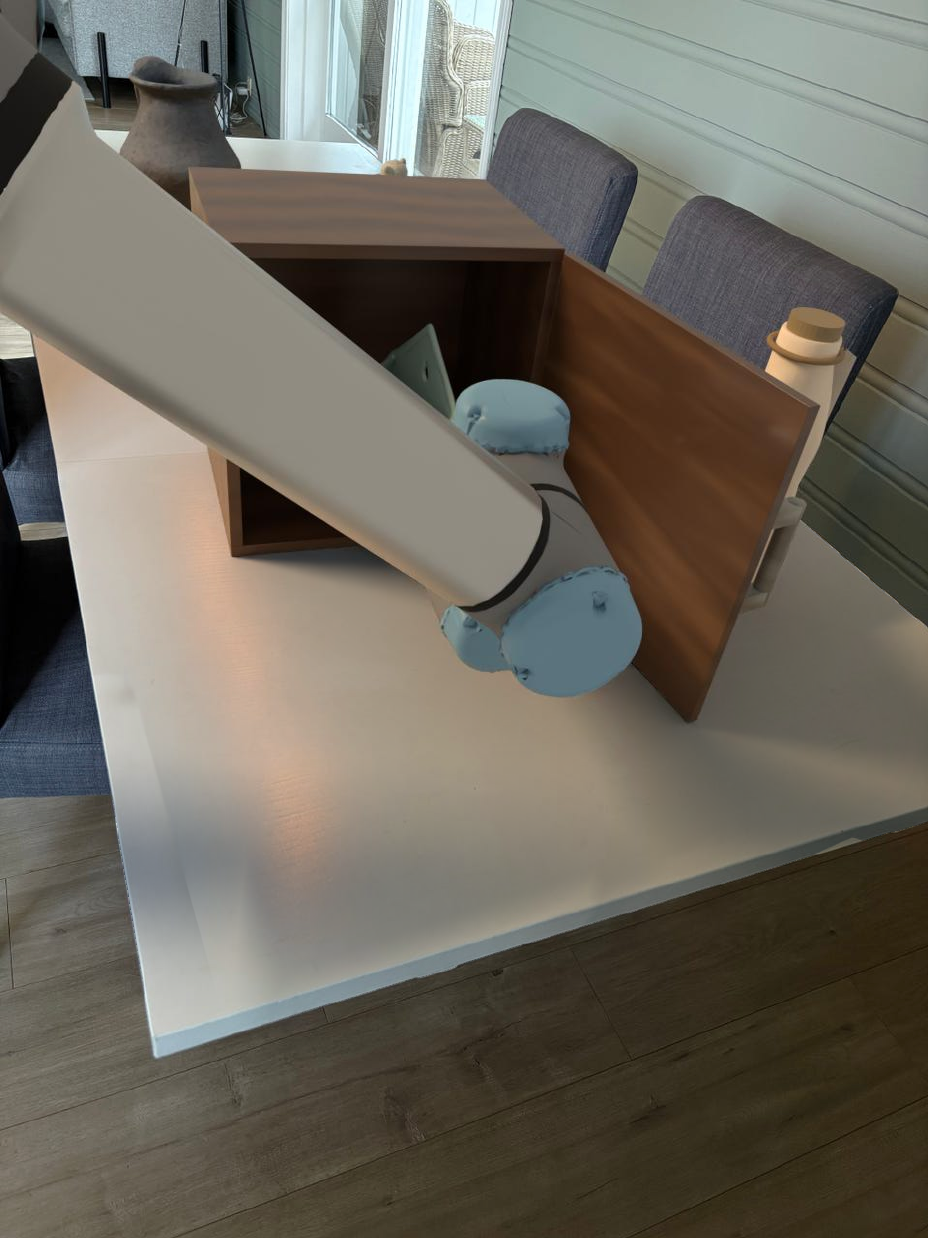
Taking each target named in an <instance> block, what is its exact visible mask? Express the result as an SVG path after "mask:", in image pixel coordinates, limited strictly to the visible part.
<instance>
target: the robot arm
mask: <svg viewBox="0 0 928 1238" xmlns="http://www.w3.org/2000/svg"><path fill="white" fill-rule="evenodd" d="M45 5H46V4H45V0H0V314H1V315H3V316H5V317H6V318H7V319H8V320H11V321H12V322H13V323H15V324H17V325H18V326H20V327H21V328H23V329H25V331H28V333H31V334H33V335H34V336H36V337H37V338H39V339H40V340H41V341H43V342H45V343H46V344H48V345H49V346H51V347H52V348H54V349H56V350H57V351H58V352H60V353H62V354H64V355H65V356H66V357H68V358H70V359H71V360H73V361H74V362H76V363H77V364H79V365H81V366H82V367H84V368H85V369H87V370H88V371H90V372H92V373H93V374H95V375H96V376H97V377H99V378H100V379H102V380H103V381H105V382H107V383H109V384H110V385H111V386H113V387H115V388H117V389H118V390H119V391H121V392H123V393H124V394H125V395H127V396H128V397H130V398H132V399H133V400H135V401H137V402H138V403H140V404H141V405H142V406H144V407H146V408H147V409H149V410H151V411H152V412H154V413H155V414H157V415H158V416H160V417H161V418H163V419H165V420H166V421H168V422H169V423H171V424H172V425H174V426H175V427H177V428H178V429H180V430H181V431H182V432H185V433H186V434H188V435H189V436H191V437H193V438H194V439H195V440H197V441H199V442H200V443H202V444H203V445H204V446H206V447H207V446H208V447H210V448H211V449H213V450H214V451H216V452H217V453H219V454H220V455H222V456H224V457H225V458H227V459H228V460H230V461H231V462H233V463H234V464H236V465H238V466H239V467H241V468H242V469H244V470H245V471H247V472H248V473H250V474H251V475H253V476H255V477H256V478H258V479H259V480H261V481H262V482H264V483H265V484H267V485H269V486H270V487H272V488H273V489H275V490H276V491H278V492H279V493H281V494H283V495H284V496H286V497H287V498H289V499H290V500H292V501H293V502H295V503H297V504H298V505H300V506H301V507H303V508H304V509H306V510H307V511H309V512H311V513H312V514H314V515H315V516H317V517H318V518H320V519H321V520H323V521H325V522H326V523H328V524H329V525H331V526H332V527H334V528H335V529H337V530H339V531H340V532H342V533H343V534H345V535H346V536H348V537H349V538H351V539H352V540H354V541H356V542H357V543H359V544H360V545H359V546H362V547H363V548H365V549H366V550H368V551H369V552H371V553H372V554H375V555H376V556H377V557H379V558H381V559H382V560H383V561H385V562H387V563H388V564H390V565H391V566H393V567H394V568H396V569H398V570H399V571H400V572H402V573H404V574H405V575H407V576H408V577H410V578H411V579H413V580H415V581H416V582H418V583H420V584H421V585H422V586H423V587H424V589H425V592H426V594H427V597H428V598H429V601H430V603H431V606H432V608H433V610H434V612H435V615H436V617H437V619H438V622H439V628H440V632H441V633H442V634H443V635H444V637H445V638H446V639H447V641H448V642H449V645H451V648H452V649H453V651H454V652H455V654H456V656H457V657H458V659H459V660H460V661H461V662H462V663H463V664H464V665H466V666H468V667H469V668H470V669H472V670H475V671H478V672H482V673H492V674H493V673H497V672H498V673H500V672H505V671H506V672H507V671H509V672H510V671H511V672H512V674H513V676H514V678H515V679H516V680H517V681H518V683H520V685H521V686H523V687H524V688H525V689H527V690H529V691H531V692H533V693H535V694H538V695H540V696H545V697H553V698H572V697H576V696H581V695H585V694H588V693H591V692H593V691H596V690H598V689H599V688H602V687H604V686H606V685H607V684H608V683H609V682H610V681H611V680H612V679H613V678H615V677H617V676H618V675H620V673H621V672H623V671H625V670H626V669H627V667H628V666H629V665H630V663H632V662H631V661H632V659H633V658H634V656H635V654H636V653H637V650H638V648H639V645H640V641H641V637H642V622H641V617H640V614H639V611H638V609H637V607H636V604H635V602H634V599H633V597H632V594H631V592H630V586H629V584H628V582H627V578H626V576H625V575H624V574H623V573H621V572H620V570H619V568H618V567H617V565H616V563H615V561H614V560H613V558H612V556H611V554H610V552H609V551H608V549H607V547H606V545H605V544H604V542H603V540H602V538H601V536H600V535H599V533H598V531H597V529H596V528H595V526H594V524H593V522H592V520H591V519H590V517H589V515H588V513H587V511H586V509H585V507H584V505H583V503H582V501H581V499H580V497H579V495H578V494H577V492H576V490H575V488H574V486H573V484H572V482H571V480H570V478H569V477H568V475H567V473H566V471H565V470H564V466H563V458H564V455H565V452H566V449H568V446H569V441H568V434H569V425H570V412H569V409H568V407H567V405H566V404H565V402H564V401H563V400H562V399H561V398H560V397H559V396H557V395H556V394H555V393H553V392H552V391H550V390H548V389H546V388H544V387H541V386H539V385H536V384H532V383H529V382H524V381H519V380H505V379H500V380H498V379H495V380H487V381H483V382H479V383H476V384H474V385H472V386H470V387H468V388H467V389H465V390H464V391H463V392H462V393H461V395H460V396H459V398H458V399H457V402H456V406H455V411H454V416H453V421H452V422H451V421H450V420H449V419H447V418H446V417H445V416H444V415H442V414H441V413H440V412H439V411H437V410H436V409H435V408H434V407H432V406H431V405H430V404H429V403H427V402H426V401H425V400H424V399H422V398H421V397H420V396H419V395H418V394H416V393H415V392H414V391H413V390H411V389H410V388H409V387H408V386H406V385H405V384H404V383H403V382H401V381H400V380H399V379H398V378H396V377H395V376H394V375H393V374H391V373H390V372H389V371H388V370H387V369H385V368H384V367H383V366H382V365H380V364H379V363H378V362H377V361H375V360H374V359H373V358H372V357H370V356H369V355H368V354H367V353H365V352H364V351H363V350H362V349H360V348H359V347H358V346H357V345H356V344H354V343H353V342H352V341H351V340H349V339H348V338H347V337H346V336H344V335H343V334H342V333H341V332H339V331H338V330H337V329H336V328H334V327H333V326H332V325H331V324H329V323H328V322H327V321H326V320H325V319H323V318H322V317H321V316H320V315H318V314H317V313H316V312H315V311H313V310H312V309H311V308H310V307H308V306H307V305H306V304H305V303H303V302H302V301H301V300H300V299H298V298H297V297H296V296H295V295H294V294H292V293H291V292H290V291H289V290H287V289H286V288H285V287H284V286H282V285H281V284H280V283H279V282H277V281H276V280H275V279H274V278H272V277H271V276H270V275H269V274H267V273H266V272H265V271H264V270H263V269H261V268H260V267H259V266H258V265H256V264H255V263H254V262H253V261H251V260H250V259H249V258H248V257H246V256H245V255H244V254H243V253H241V252H240V251H239V250H238V249H236V248H235V247H234V246H233V245H232V244H230V243H229V242H228V241H227V240H225V239H224V238H223V237H222V236H220V235H219V234H218V233H217V232H215V231H214V230H213V229H212V228H210V227H209V226H208V225H207V224H205V223H204V222H203V221H202V220H201V219H199V218H198V217H197V216H196V215H194V214H193V213H192V212H191V211H189V210H188V209H187V208H186V207H184V206H183V205H182V204H181V203H179V202H178V201H177V200H176V199H174V198H173V197H172V196H171V195H170V194H168V193H167V192H166V191H165V190H163V189H162V188H161V187H160V186H158V185H157V184H156V183H155V182H153V181H152V180H151V179H150V178H148V177H147V176H146V175H145V174H143V173H142V172H141V171H140V170H139V169H137V168H136V167H135V166H134V165H132V164H131V163H130V162H129V161H127V160H126V159H125V158H124V157H122V156H121V155H120V154H119V153H120V152H118V151H116V150H115V149H114V148H113V147H111V146H110V145H109V144H108V143H107V142H105V141H104V140H103V139H101V138H100V137H99V136H98V134H97V133H96V130H95V129H94V127H93V125H92V122H91V119H90V114H89V111H88V108H87V103H86V100H85V94H84V92H83V87H82V86H81V85H79V83H77V82H76V81H75V80H74V79H72V78H71V77H70V76H69V75H68V74H66V73H65V72H64V71H63V70H61V68H59V67H58V66H57V65H56V64H55V63H53V62H52V61H51V60H50V59H48V58H47V57H45V55H43V54H42V53H41V52H42V49H43V34H44V31H45V29H46V28H45V27H46V25H45V12H46V11H45V10H46V9H45V7H46V6H45Z"/></svg>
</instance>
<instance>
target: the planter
mask: <svg viewBox="0 0 928 1238" xmlns="http://www.w3.org/2000/svg"><path fill="white" fill-rule="evenodd" d="M380 365H382V366H383V367H384V368H385V369H387V370H388V371H389V372H390V373H391V374H393V375H394V376H395V377H396V378H398V379H399V380H400V381H401V382H403V383H404V384H405V385H406V386H408V387H409V388H410V389H411V390H413V391H414V392H415V393H416V394H418V395H419V396H420V397H421V398H422V399H424V400H425V401H426V402H427V403H429V404H430V405H431V406H432V407H434V408H435V409H436V410H437V411H439V412H440V413H441V414H442V415H444V416H445V417H446V418H447V419H449V420H450V421H451V422H452V421H453V416H454V411H455V406H456V402H455V399H454V395H453V392H452V388H451V385H450V381H449V378H448V375H447V371H446V368H445V365H444V361H443V358H442V355H441V351H440V348H439V344H438V340H437V337H436V333H435V330H434V327H433V325H432V324H428V325H426V326H425V327H424V328H423V329H422V330H421V331H420V332H418V333H417V334H416V335H415V336H413V337H412V338H411V339H409V340H408V341H406V342H405V343H404V344H402V345H401V346H400V347H398V348H396V349H394V350H393V351H391V352H390V353H389V355H388V356H387V358H386V359H385V360H384V361H383V362H381V363H380ZM426 367H427V370H428V380H427V378H426Z"/></svg>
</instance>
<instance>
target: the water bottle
mask: <svg viewBox="0 0 928 1238" xmlns="http://www.w3.org/2000/svg"><path fill="white" fill-rule="evenodd" d="M845 327H846V321H845V320H844V319H843V318H842V317H840V316H839V315H837V314H836V313H833V312H830V311H827V310H824V309H821V308H815V307H809V306H798V307H794V308H792V309H791V310H790V312H789V316H788V319H787V321H785V322H784V323H782V326H781V327H780V329H779V330H775V331H772V332H771V333H769V334H768V335H767V337H766V340H765V341H766V345H767V346H768V347H769V349H770V350H771V354H770V356H769V359H768V361H767V364H766V367H765V370H764V371H765V372H767V373H769V374H770V375H772V376H773V377H775V378H777V379H778V380H780V381H782V382H783V383H785V384H786V385H788V386H790V387H791V388H793V389H795V390H796V391H798V392H799V393H801V394H803V395H804V396H806V397H808V398H809V399H811V400H812V401H814V402H816V403H817V404H819V405H820V409H819V411H818V414H817V417H816V419H815V422H814V424H813V427H812V429H811V432H810V434H809V437H808V439H807V442H806V444H805V447H804V449H803V452H802V455H801V457H800V460H799V462H798V465H797V467H796V470H795V472H794V475H793V477H792V480H791V482H790V485H789V487H788V490H787V493H786V495H785V498H787V497H796V495H797V492H798V489H799V485H800V483H801V482H802V480H803V478H804V476H805V475H806V472H807V471H808V469H809V467H810V465H811V463H812V462H813V460H814V458H815V456H816V454H817V452H818V450H819V448H820V445H821V443H822V441H823V437H824V434H825V429H826V426H827V422H828V420H829V418H830V416H831V413H832V412H833V410H834V408H835V405H836V403H837V401H838V398H839V396H840V394H841V392H842V390H843V388H844V386H845V384H846V382H847V380H848V377H849V375H850V373H851V371H852V368H853V367H854V364H855V362H856V360H857V358H858V357H857V356H856V355H855V354H853V353H852V352H851V351H850V350H849V349H847V347H845V346H844V345H843V344H842V343H843V337H842V335H843V331H844V329H845ZM774 339H776V340H775V341H774ZM773 531H774V529H773V530H772V531H771V533H770V536H769V538H768V541H767V543H766V546H765V548H764V551H763V553H762V556H761V558H760V561H759V564H758V566H757V569H756V571H755V574H754V576H753V579H752V581H751V583H753V582H754V579H755V577H756V574H757V572H758V569H759V567H760V564H761V561H762V559H763V556H764V554H765V551H766V549H767V546H768V544H769V541H770V539H771V536H772V534H773Z"/></svg>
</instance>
